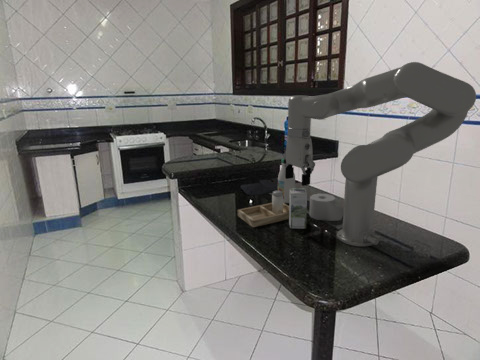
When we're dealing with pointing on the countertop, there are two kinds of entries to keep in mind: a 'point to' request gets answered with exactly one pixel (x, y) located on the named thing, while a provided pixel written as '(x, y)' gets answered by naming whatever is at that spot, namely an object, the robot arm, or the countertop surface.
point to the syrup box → (297, 208)
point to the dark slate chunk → (261, 187)
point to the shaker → (277, 202)
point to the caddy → (262, 215)
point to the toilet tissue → (325, 208)
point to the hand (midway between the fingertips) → (297, 181)
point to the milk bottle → (285, 183)
